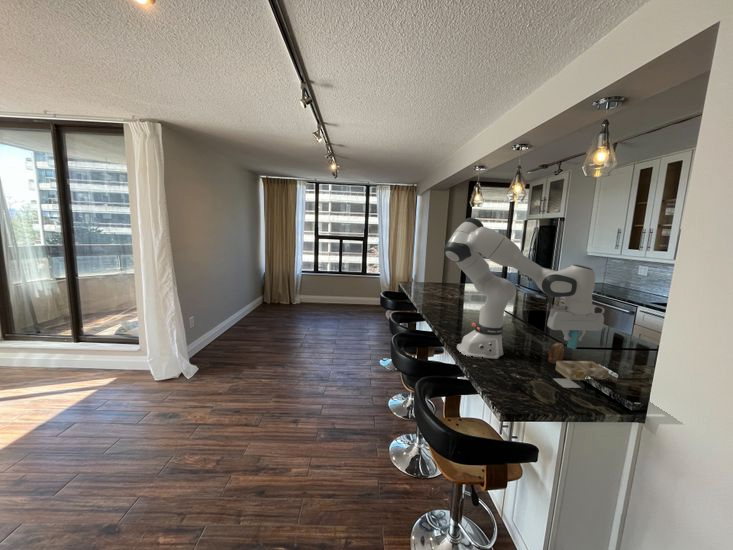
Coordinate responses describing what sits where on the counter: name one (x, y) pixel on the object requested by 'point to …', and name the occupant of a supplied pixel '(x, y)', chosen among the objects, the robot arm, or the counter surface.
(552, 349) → the brown rounded slab
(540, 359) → the counter surface
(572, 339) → the plug
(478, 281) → the robot arm
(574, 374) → the socket block
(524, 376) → the counter surface
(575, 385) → the deck
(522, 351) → the counter surface
